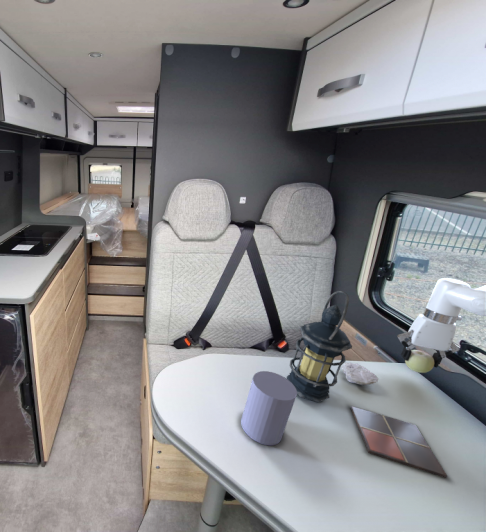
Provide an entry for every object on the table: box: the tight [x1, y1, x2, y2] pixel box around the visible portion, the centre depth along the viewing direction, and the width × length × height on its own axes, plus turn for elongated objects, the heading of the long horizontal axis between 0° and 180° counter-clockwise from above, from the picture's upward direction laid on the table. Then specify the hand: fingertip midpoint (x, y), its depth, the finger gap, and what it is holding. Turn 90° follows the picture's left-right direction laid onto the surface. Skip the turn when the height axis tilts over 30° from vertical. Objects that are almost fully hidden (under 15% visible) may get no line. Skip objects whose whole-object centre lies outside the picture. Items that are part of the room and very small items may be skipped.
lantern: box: [286, 290, 353, 403], centre depth 92 cm, size 14×13×35 cm
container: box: [240, 370, 298, 446], centre depth 80 cm, size 10×10×15 cm
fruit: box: [404, 349, 435, 374], centre depth 105 cm, size 8×7×8 cm
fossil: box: [341, 362, 379, 386], centre depth 105 cm, size 9×6×10 cm
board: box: [350, 405, 448, 479], centre depth 83 cm, size 16×16×1 cm
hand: (418, 361), depth 105 cm, fingers closed on fruit, 7 cm apart
